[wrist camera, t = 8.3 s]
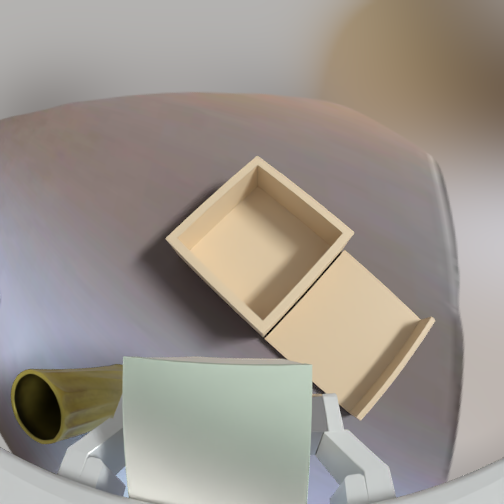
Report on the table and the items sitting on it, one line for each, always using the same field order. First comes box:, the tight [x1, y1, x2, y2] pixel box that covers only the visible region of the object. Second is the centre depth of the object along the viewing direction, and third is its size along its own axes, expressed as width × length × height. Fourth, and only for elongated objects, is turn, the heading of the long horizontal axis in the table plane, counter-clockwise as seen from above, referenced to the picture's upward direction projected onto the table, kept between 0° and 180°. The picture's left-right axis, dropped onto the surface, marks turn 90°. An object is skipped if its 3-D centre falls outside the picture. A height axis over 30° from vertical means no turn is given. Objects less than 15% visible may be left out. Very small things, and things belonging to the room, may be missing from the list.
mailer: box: [165, 156, 435, 421], centre depth 28 cm, size 24×12×5 cm, turn 46°
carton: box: [123, 357, 312, 504], centre depth 10 cm, size 4×4×9 cm
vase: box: [11, 364, 123, 444], centre depth 21 cm, size 6×6×14 cm
